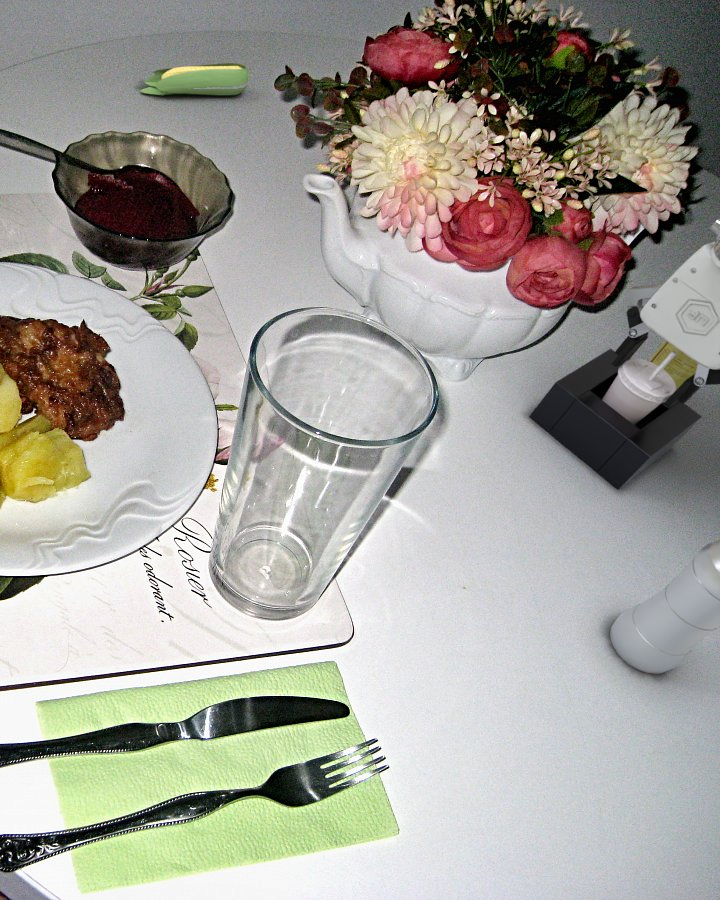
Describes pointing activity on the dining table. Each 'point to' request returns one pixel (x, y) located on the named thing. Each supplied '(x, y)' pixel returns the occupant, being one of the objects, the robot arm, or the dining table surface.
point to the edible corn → (198, 80)
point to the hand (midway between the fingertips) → (646, 380)
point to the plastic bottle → (672, 617)
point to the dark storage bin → (608, 423)
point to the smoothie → (640, 388)
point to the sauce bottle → (675, 363)
